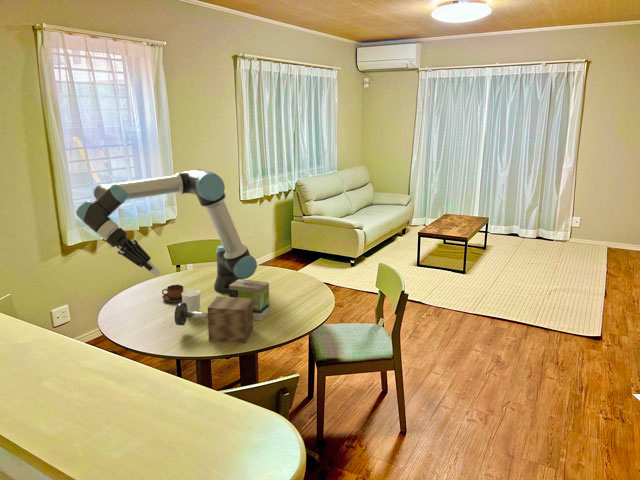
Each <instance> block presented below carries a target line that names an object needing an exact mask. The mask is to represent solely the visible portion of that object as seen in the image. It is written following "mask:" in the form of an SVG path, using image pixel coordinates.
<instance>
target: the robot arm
mask: <svg viewBox="0 0 640 480" xmlns="http://www.w3.org/2000/svg"><path fill="white" fill-rule="evenodd" d="M225 186H226V185H225V182H224V180H223V178H222V177H221V176H219V174H216V173H215V172H213V171H207V170H204V169H193V170H188V171H187V170H186V171H181V172H175V174H174V175H169V176H163V177H156V178H155V177H154V178H147V179H140V180H134V181H133V180H131V181H125V182H118V183H117V182H116V183H110V184H107V183H100V184H98V185H96V186H95V187H94V189H93V196H94V198H95V201H93V202H92V201H90V200H86V201H85V202H83V203H82V204H81V205H80V206H79V207H78V208H77V209H76V216H77V218H79V219H80V220H81V221H82V222H83V223H84V224H85V225H87V227H89V228H90V229H91V230H92V231H94V232H95V233H96V234H98V236H99V237H100V238H102V239H103V240H105V241H106V243H107V244H108V245H110V246H111V247H112V248H115V247H116V248H117V249H118V251H117V254H118V255H121V256H122V257H124V258H126V259H127V260H129V261H130V262H132V263H133V264H135V266H138V267H139V268H143V267H144V268H145V269H146V270H147V271H148V272H149V273H151V274H152V275H153V277H154V276H155V278H157V277H158V276H159V275H160V274H161V273H162V270H161V269H160V268H159V267H158V266H156V265H155V264H154V263H153V262H152V261H151V259H152V257H151V256H150V255H149V254H148V252H146V251H145V249H144V248H143V247H142V246H141V245H140V244H139V242H138V241H137V239H134V240H131V239H130V238H128V237H127V235H128V233H127V232H126V231H125V230H124V229H123V228H122V227H120V226H119V225H118V224H117V223H116V222H115V221H114V220H112V219H111V218H110V217H109V216H111V215H112V214H113V213H114V212H115V211H116V210H117V209H118V208H119V207H120V206H121V205H123V204H124V203H125V202H126V201H128V200H129V201H130V200H134V199H142V198H147V197H155V196H162V195H169V194H175V193H176V194H177V193H178V194H179V195H184V194H190V195H194V196H196V197H197V199H198V200H197V201H199V204H200V206H201V207H203V208H205V209H206V211H207V213H208V216H209V218H210V220H211V222H212V225H213V227H214V230H215V231H216V233H217V236H218V239H219V240H220V243H221V244H220V245H218V246H217V247H216V269H217V270H216V272H217V273H216V277H215V282H214V285H213V288H214V289H213V290H214V291H215V292H217V293H221V294H229V285H230V284H232V283H234V282H235V281H237V280H238V279H244V280H248V278H251V277H252V276H253V275H254V274H255V273H256V271H257V268H258V262H257V259H255V257H254V256H253V255H251V253H250V250H249V248H248V246H247V245H245V244H244V243H242V241H241V238H240V235H239V234H238V230H237V229H236V227H235V223H234V221H233V219H232V216H231V213H230V212H229V209H228V207H227V205H226V202H225V199H226V194H225V189H226V188H225Z"/></svg>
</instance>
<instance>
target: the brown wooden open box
mask: <svg viewBox="0 0 640 480" xmlns="http://www.w3.org/2000/svg"><path fill="white" fill-rule="evenodd" d="M207 313H208V319H207V328H208V329H207V330H208V341H209V342H218V343H233V344H235V343H236V344H247V343H248V342H249V340H250V338H251V335H252V334H253V332H254V320H253V298H237V297H229V296H216V297H215V298H214V299H213V300H212V302H211V303H210V304H209V305H208V307H207Z"/></svg>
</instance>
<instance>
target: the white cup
mask: <svg viewBox="0 0 640 480" xmlns="http://www.w3.org/2000/svg"><path fill="white" fill-rule="evenodd" d="M181 303H186V304H187V308H188V311H190V312H201V310H200V309H201V291H200V290H198V289H187V290H185V291H184V290H183V292H182V301H181Z"/></svg>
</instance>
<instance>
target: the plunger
mask: <svg viewBox="0 0 640 480" xmlns="http://www.w3.org/2000/svg"><path fill="white" fill-rule="evenodd" d="M188 318H191V319H207V320H208V311H207V312H205V311H200V312H190V311H188V308H187V304H186V303H182V302H179V303H178V302H177V304H176V306H175V310H174V323H175V325H177V326H185V324H186V322H187V319H188Z"/></svg>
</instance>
